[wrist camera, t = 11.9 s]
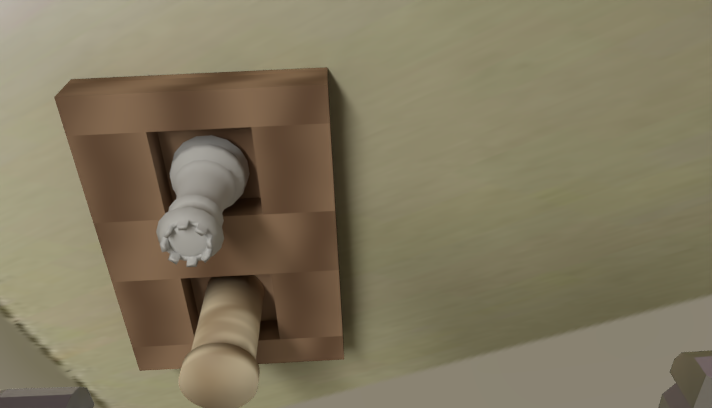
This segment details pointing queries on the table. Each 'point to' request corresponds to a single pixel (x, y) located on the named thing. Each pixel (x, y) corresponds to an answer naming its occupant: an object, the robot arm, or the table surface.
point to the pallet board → (240, 226)
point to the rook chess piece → (201, 197)
